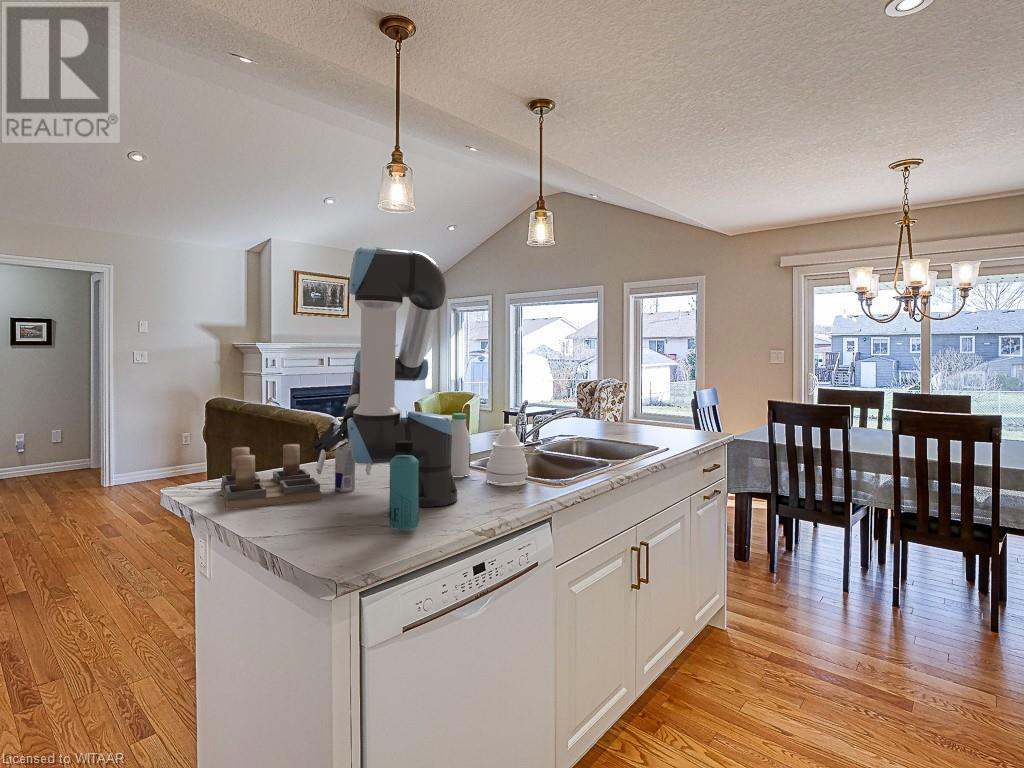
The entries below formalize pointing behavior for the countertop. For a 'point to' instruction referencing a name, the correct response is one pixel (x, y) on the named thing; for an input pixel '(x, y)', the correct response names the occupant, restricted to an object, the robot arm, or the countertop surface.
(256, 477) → the pillar candle tray
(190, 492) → the countertop surface
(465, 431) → the milk bottle
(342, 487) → the energy drink
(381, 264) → the robot arm
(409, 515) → the beverage bottle
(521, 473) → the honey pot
